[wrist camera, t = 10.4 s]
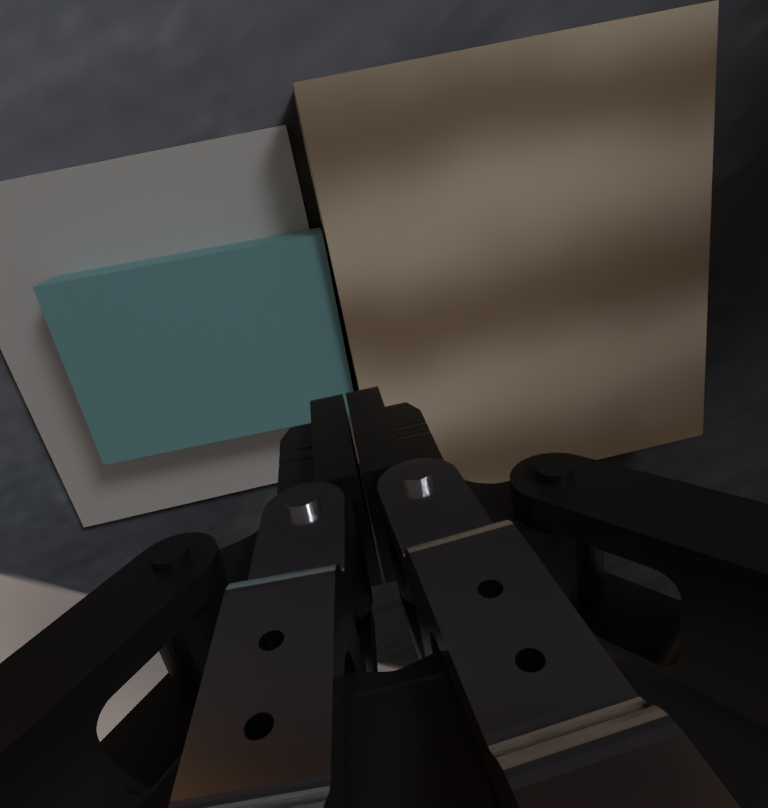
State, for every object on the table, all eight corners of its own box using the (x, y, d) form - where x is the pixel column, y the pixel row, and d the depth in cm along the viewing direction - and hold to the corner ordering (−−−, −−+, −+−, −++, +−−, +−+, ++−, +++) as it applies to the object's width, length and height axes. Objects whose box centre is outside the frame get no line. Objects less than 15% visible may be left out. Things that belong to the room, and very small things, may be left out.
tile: (53, 276, 22) (32, 287, 20) (320, 227, 23) (322, 233, 21) (117, 442, 25) (103, 464, 23) (353, 394, 26) (357, 412, 24)
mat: (-66, 194, 21) (-72, 195, 21) (285, 125, 22) (285, 124, 21) (86, 522, 27) (83, 527, 26) (361, 458, 27) (362, 462, 27)
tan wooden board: (292, 92, 21) (293, 82, 19) (665, 18, 22) (718, 0, 19) (376, 474, 28) (385, 509, 25) (663, 407, 29) (702, 434, 26)
